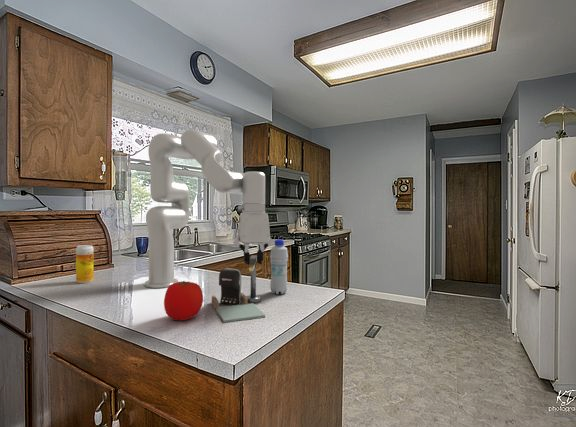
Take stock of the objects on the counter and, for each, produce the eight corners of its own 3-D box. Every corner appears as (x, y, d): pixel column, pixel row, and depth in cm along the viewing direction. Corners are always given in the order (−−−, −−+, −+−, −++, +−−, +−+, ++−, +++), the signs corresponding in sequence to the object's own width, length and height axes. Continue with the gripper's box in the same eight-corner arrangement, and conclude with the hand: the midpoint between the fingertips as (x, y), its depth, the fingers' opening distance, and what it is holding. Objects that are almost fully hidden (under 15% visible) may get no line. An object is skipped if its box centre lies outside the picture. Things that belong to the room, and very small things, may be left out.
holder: (211, 302, 104) (211, 295, 104) (242, 299, 108) (242, 292, 108) (215, 309, 98) (215, 301, 98) (247, 305, 102) (247, 298, 102)
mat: (215, 309, 98) (215, 307, 98) (253, 304, 103) (253, 303, 103) (223, 322, 87) (223, 320, 87) (265, 317, 92) (265, 315, 92)
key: (247, 306, 96) (248, 262, 96) (251, 293, 110) (251, 255, 109) (253, 306, 96) (254, 262, 96) (256, 294, 110) (256, 255, 109)
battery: (217, 304, 103) (217, 269, 102) (223, 301, 106) (223, 267, 106) (235, 307, 100) (236, 271, 100) (241, 303, 104) (242, 269, 103)
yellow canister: (87, 283, 127) (87, 246, 127) (72, 283, 127) (72, 246, 127) (96, 280, 133) (96, 244, 133) (82, 280, 133) (82, 244, 133)
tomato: (169, 312, 95) (169, 276, 94) (205, 311, 96) (205, 276, 95) (158, 325, 84) (158, 285, 84) (198, 325, 85) (198, 285, 85)
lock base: (243, 300, 108) (243, 295, 108) (257, 298, 109) (257, 294, 109) (247, 304, 103) (247, 300, 103) (262, 302, 105) (262, 298, 105)
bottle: (285, 295, 113) (286, 240, 113) (267, 294, 115) (268, 239, 114) (289, 291, 120) (290, 238, 119) (272, 289, 121) (272, 238, 121)
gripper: (231, 208, 99) (231, 267, 99) (281, 209, 105) (280, 264, 106) (226, 208, 106) (226, 263, 106) (273, 209, 112) (272, 260, 112)
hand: (253, 263), depth 106 cm, fingers open, 3 cm apart
